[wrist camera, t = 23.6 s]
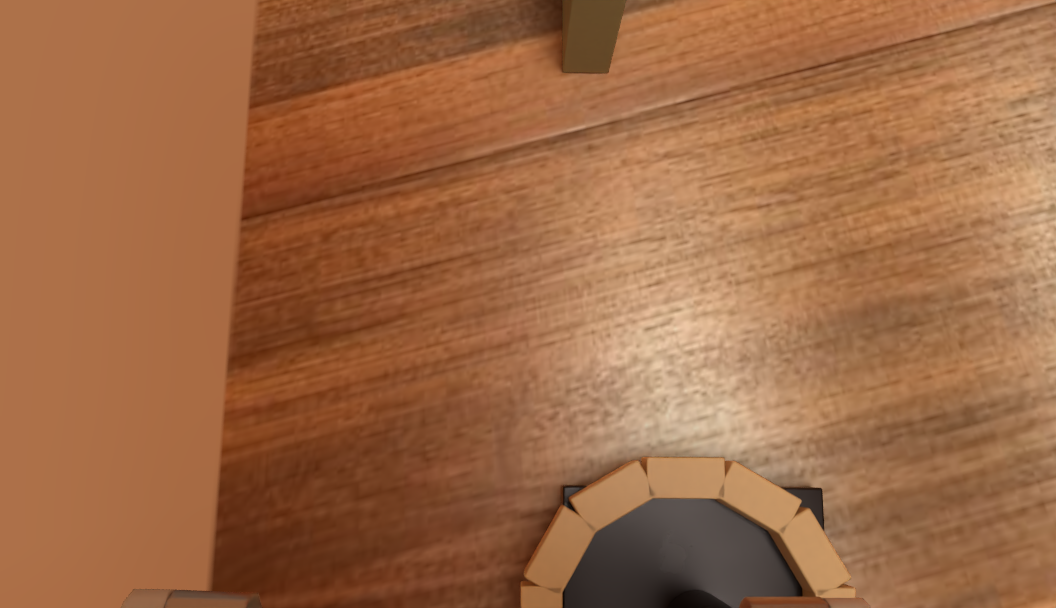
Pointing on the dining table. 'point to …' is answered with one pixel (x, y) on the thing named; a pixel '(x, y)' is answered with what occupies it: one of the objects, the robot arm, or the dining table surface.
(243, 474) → the dining table surface
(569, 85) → the dining table surface
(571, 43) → the olive green rectangular slab
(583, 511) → the segmented block ring
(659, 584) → the hook post
